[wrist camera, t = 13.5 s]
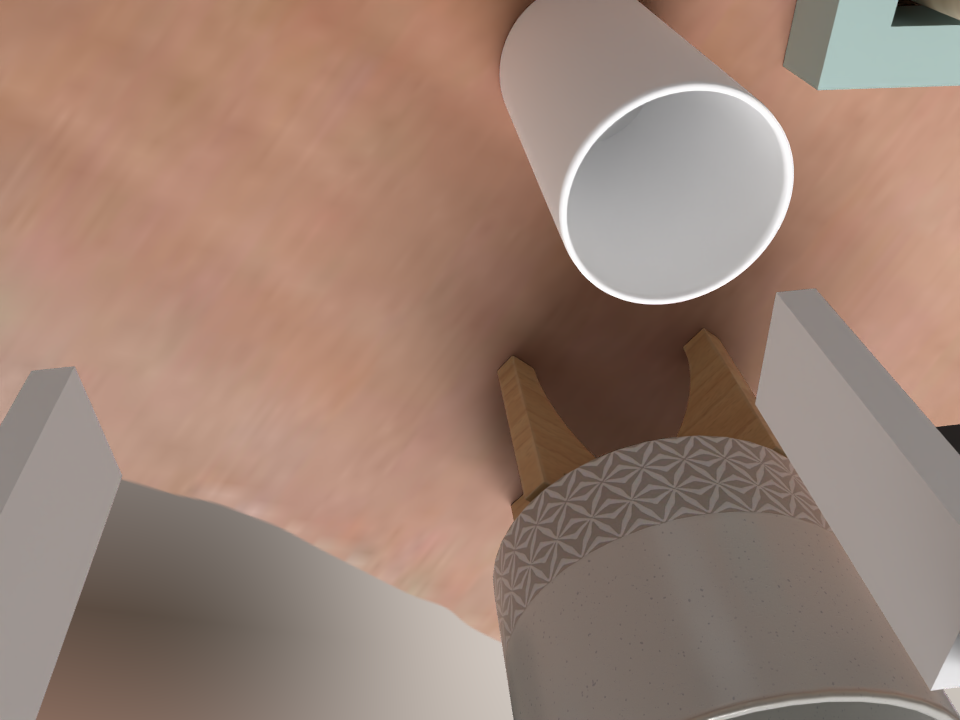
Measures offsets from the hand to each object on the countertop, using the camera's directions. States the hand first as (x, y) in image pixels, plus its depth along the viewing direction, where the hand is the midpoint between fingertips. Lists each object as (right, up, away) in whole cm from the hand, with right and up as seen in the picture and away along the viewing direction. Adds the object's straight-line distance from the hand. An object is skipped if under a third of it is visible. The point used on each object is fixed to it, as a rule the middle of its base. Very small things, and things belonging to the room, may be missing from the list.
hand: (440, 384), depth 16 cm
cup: (+6, +15, +25) cm, 30 cm away
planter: (+9, -4, +40) cm, 41 cm away
